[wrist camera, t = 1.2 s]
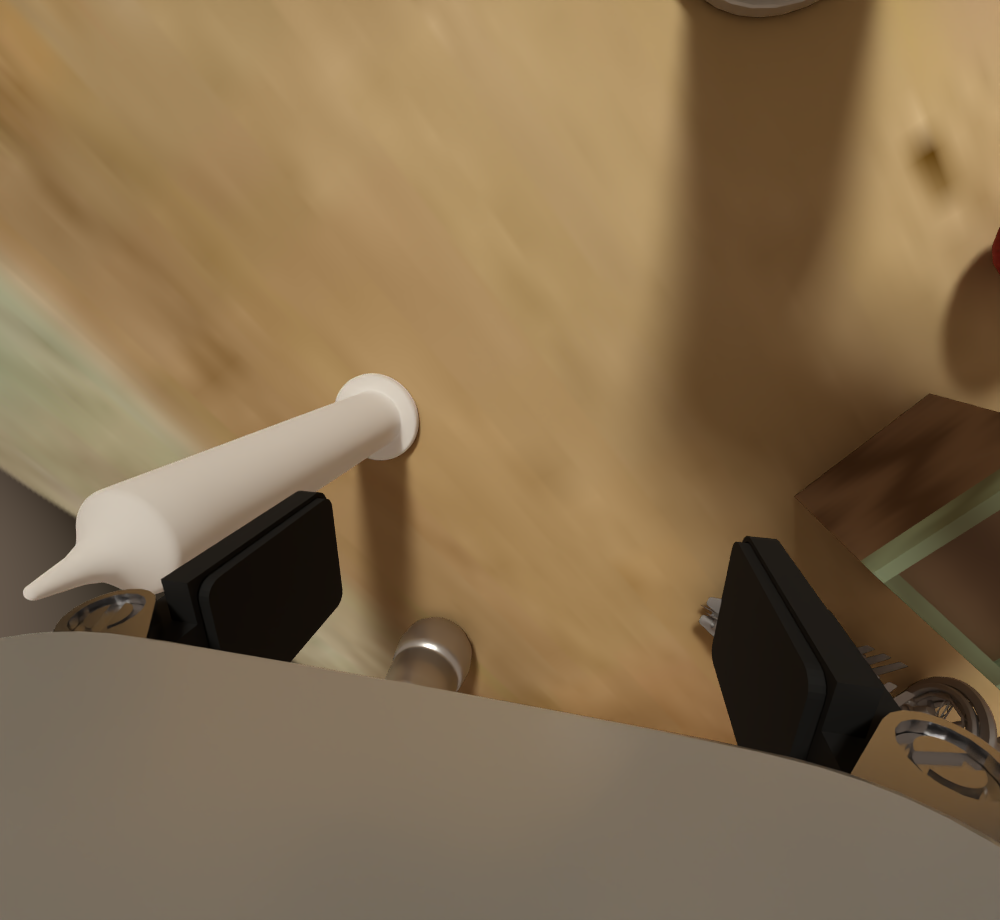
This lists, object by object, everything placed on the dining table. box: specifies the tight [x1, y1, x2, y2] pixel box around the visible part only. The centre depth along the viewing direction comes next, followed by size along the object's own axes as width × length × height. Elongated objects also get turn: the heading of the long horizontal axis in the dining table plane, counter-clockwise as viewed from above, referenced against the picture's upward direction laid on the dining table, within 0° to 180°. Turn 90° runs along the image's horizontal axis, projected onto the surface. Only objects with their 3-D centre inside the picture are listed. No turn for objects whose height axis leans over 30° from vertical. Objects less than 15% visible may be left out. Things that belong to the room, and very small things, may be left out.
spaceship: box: [699, 597, 1000, 752], centre depth 33 cm, size 8×35×8 cm
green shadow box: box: [795, 394, 1000, 690], centre depth 27 cm, size 10×11×10 cm
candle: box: [23, 373, 419, 601], centre depth 26 cm, size 7×7×25 cm
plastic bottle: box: [385, 617, 472, 692], centre depth 34 cm, size 6×7×20 cm
